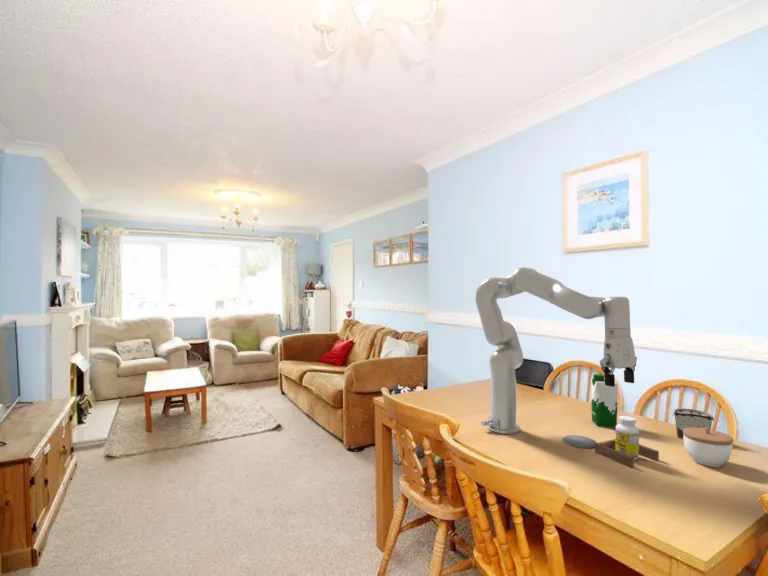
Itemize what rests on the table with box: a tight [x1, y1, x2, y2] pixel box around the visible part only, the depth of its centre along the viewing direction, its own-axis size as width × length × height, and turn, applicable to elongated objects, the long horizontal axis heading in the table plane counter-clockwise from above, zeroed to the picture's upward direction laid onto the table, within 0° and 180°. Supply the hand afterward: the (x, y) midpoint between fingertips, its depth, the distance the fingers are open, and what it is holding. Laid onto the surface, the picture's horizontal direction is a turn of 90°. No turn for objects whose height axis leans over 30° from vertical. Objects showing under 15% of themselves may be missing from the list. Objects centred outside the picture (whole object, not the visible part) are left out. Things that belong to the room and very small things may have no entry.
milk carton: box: [590, 373, 619, 428], centre depth 165 cm, size 9×9×20 cm
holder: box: [594, 438, 660, 469], centre depth 133 cm, size 13×13×3 cm
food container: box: [672, 408, 715, 440], centre depth 151 cm, size 12×6×10 cm, turn 65°
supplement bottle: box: [615, 415, 640, 461], centre depth 133 cm, size 7×7×13 cm
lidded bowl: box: [682, 427, 734, 468], centre depth 129 cm, size 13×13×11 cm
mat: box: [562, 434, 598, 450], centre depth 145 cm, size 11×11×1 cm
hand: (619, 384), depth 135 cm, fingers open, 9 cm apart
